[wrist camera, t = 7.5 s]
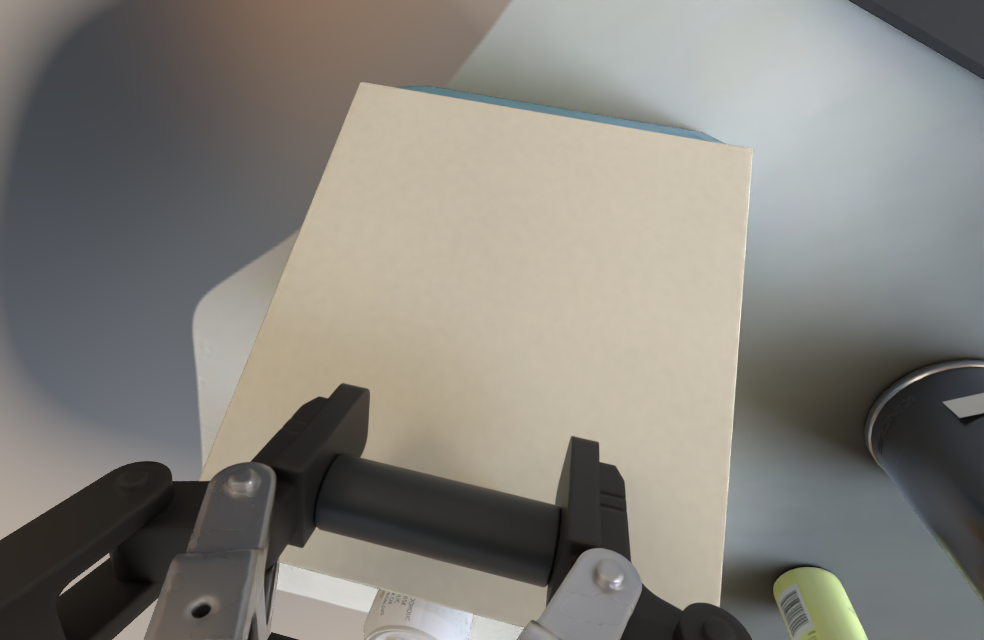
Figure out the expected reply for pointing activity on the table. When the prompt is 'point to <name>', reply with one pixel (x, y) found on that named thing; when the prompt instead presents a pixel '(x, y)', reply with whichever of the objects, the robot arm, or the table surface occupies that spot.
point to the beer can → (414, 620)
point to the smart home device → (938, 26)
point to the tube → (816, 606)
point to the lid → (507, 346)
